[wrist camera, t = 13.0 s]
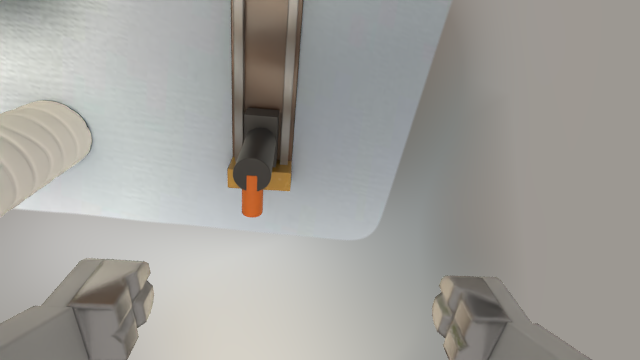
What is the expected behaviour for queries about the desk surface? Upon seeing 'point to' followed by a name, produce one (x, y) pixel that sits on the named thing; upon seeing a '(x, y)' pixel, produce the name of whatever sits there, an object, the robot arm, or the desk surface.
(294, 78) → the rail
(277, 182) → the block
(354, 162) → the desk surface
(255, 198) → the nozzle
